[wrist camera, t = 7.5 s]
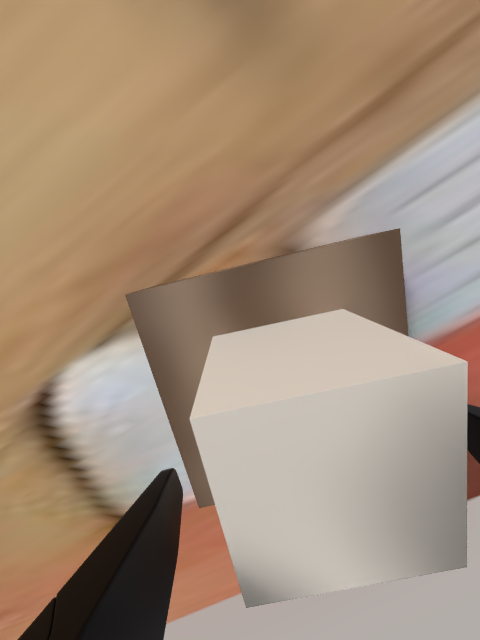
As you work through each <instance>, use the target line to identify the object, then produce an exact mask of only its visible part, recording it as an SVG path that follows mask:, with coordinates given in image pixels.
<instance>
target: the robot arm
mask: <svg viewBox="0 0 480 640" xmlns="http://www.w3.org/2000/svg"><path fill="white" fill-rule="evenodd" d="M467 450H468V451H469V452H470V454H471V455H472V456H473V457H474V458H475V459H476V460H477V461H478V462H479V464H480V407H476V406H473V405H469V404H467ZM182 501H183V490H182V486H181V483H180V480H179V477H178V475H177V472H176V470H175V469H174V468H171V469H166V470H163V471H161V472H160V473H159V474H158V475H157V477H156V478H155V479H154V480H153V481H152V482H151V484H150V485H149V486H148V487H147V488H146V490H145V491H144V492H143V493H142V494H141V495H140V497H139V498H138V499H137V500H136V501H135V503H134V504H133V505H132V506H131V507H130V508H129V510H128V511H127V512H126V513H125V514H124V516H123V517H122V518H121V519H120V520H119V521H118V523H117V524H116V525H115V526H114V527H113V528H112V530H111V531H110V532H109V533H108V534H107V536H106V537H105V538H104V539H103V540H102V541H101V543H100V544H99V545H98V546H97V547H96V549H95V550H94V551H93V552H92V553H91V554H90V556H89V557H88V558H87V559H86V560H85V561H84V563H83V564H82V565H81V566H80V567H79V569H78V570H77V571H76V572H75V573H74V574H73V576H72V577H71V578H70V579H69V580H68V582H67V583H66V584H65V585H64V586H63V587H62V589H61V590H60V591H59V592H58V593H57V596H56V597H54V598H53V599H52V600H51V601H50V603H49V604H48V605H47V606H46V607H45V608H44V610H43V611H42V612H41V613H40V614H39V616H38V617H37V618H36V619H35V620H34V621H33V623H32V624H31V625H30V626H29V627H28V628H27V629H26V631H25V632H24V633H23V634H22V635H21V636H20V637H19V639H18V640H163V638H164V632H165V627H166V621H167V615H168V609H169V604H170V598H171V592H172V586H173V580H174V575H175V569H176V563H177V556H178V548H179V537H180V525H181V513H182Z"/></svg>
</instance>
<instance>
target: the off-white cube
mask: <svg viewBox="0 0 480 640" xmlns="http://www.w3.org/2000/svg"><path fill="white" fill-rule="evenodd" d="M467 379H468V362H467V361H465V360H462V359H460V358H458V357H455V356H453V355H451V354H448V353H446V352H443V351H441V350H439V349H436V348H434V347H432V346H429V345H427V344H425V343H422V342H420V341H418V340H415V339H413V338H410V337H408V336H406V335H403V334H401V333H399V332H396V331H394V330H392V329H389V328H387V327H385V326H382V325H380V324H378V323H375V322H373V321H370V320H368V319H366V318H363V317H361V316H359V315H356V314H354V313H352V312H349V311H347V310H345V309H340V310H335V311H331V312H326V313H321V314H317V315H312V316H307V317H303V318H298V319H293V320H288V321H284V322H279V323H274V324H270V325H265V326H260V327H256V328H251V329H246V330H242V331H237V332H232V333H228V334H223V335H218V336H214V337H213V338H212V341H211V345H210V348H209V352H208V355H207V359H206V362H205V366H204V369H203V373H202V376H201V380H200V383H199V387H198V391H197V394H196V398H195V401H194V405H193V408H192V412H191V415H190V423H191V426H192V429H193V433H194V436H195V439H196V443H197V446H198V449H199V452H200V456H201V459H202V462H203V466H204V469H205V472H206V476H207V479H208V482H209V486H210V489H211V492H212V496H213V499H214V502H215V506H216V509H217V512H218V516H219V519H220V522H221V526H222V529H223V532H224V536H225V539H226V542H227V546H228V549H229V552H230V556H231V559H232V562H233V566H234V569H235V572H236V576H237V579H238V582H239V586H240V589H241V592H242V595H243V598H244V602H245V605H246V608H248V607H253V606H259V605H264V604H270V603H275V602H280V601H285V600H291V599H297V598H302V597H307V596H313V595H318V594H324V593H329V592H335V591H340V590H345V589H351V588H356V587H361V586H367V585H372V584H378V583H383V582H389V581H394V580H399V579H405V578H410V577H415V576H421V575H426V574H432V573H437V572H443V571H448V570H453V569H459V568H464V567H467Z"/></svg>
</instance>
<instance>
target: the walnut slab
mask: <svg viewBox="0 0 480 640" xmlns="http://www.w3.org/2000/svg"><path fill="white" fill-rule="evenodd" d="M125 296H126V299H127V301H128V304H129V307H130V310H131V313H132V316H133V319H134V322H135V324H136V327H137V330H138V333H139V336H140V339H141V342H142V345H143V348H144V350H145V353H146V356H147V359H148V362H149V365H150V368H151V371H152V373H153V376H154V379H155V382H156V385H157V388H158V391H159V394H160V397H161V399H162V402H163V405H164V408H165V411H166V414H167V417H168V420H169V422H170V425H171V428H172V431H173V434H174V437H175V440H176V443H177V446H178V448H179V451H180V454H181V457H182V460H183V463H184V466H185V469H186V471H187V474H188V477H189V480H190V483H191V486H192V489H193V492H194V495H195V497H196V500H197V503H198V506H199V508H202V507H206V506H211V505H215V502H214V499H213V496H212V492H211V489H210V486H209V482H208V479H207V476H206V472H205V469H204V466H203V462H202V459H201V456H200V452H199V449H198V446H197V443H196V439H195V436H194V433H193V429H192V426H191V423H190V415H191V412H192V408H193V405H194V401H195V398H196V394H197V391H198V387H199V383H200V380H201V376H202V373H203V369H204V366H205V362H206V359H207V355H208V352H209V348H210V345H211V341H212V338H213V337H214V336H218V335H223V334H228V333H232V332H237V331H242V330H246V329H251V328H256V327H260V326H265V325H270V324H274V323H279V322H284V321H288V320H293V319H298V318H303V317H307V316H312V315H317V314H321V313H326V312H331V311H335V310H340V309H345V310H347V311H349V312H352V313H354V314H356V315H359V316H361V317H363V318H366V319H368V320H370V321H373V322H375V323H378V324H380V325H382V326H385V327H387V328H389V329H392V330H394V331H396V332H399V333H401V334H403V335H406V336H408V327H407V314H406V301H405V288H404V275H403V262H402V249H401V236H400V228H399V229H395V230H390V231H385V232H380V233H375V234H370V235H366V236H361V237H356V238H352V239H348V240H344V241H340V242H335V243H331V244H327V245H323V246H319V247H315V248H311V249H307V250H302V251H298V252H294V253H290V254H286V255H282V256H278V257H273V258H269V259H265V260H261V261H257V262H253V263H249V264H244V265H240V266H236V267H232V268H228V269H224V270H220V271H215V272H211V273H207V274H203V275H199V276H195V277H191V278H186V279H182V280H178V281H174V282H170V283H166V284H162V285H158V286H153V287H150V288H146V289H143V290H140V291H136V292H133V293H129V294H126V295H125Z"/></svg>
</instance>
